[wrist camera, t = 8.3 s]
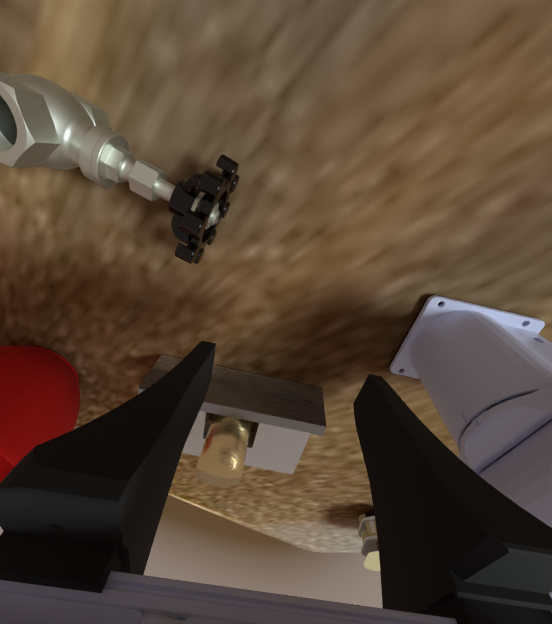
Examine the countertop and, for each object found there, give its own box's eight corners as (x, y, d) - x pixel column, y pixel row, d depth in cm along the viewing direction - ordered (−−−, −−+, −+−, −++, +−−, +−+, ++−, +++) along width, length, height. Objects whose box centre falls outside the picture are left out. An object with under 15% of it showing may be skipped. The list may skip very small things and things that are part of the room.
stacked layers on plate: (427, 505, 36) (447, 557, 32) (395, 533, 41) (408, 582, 36) (358, 489, 36) (368, 540, 31) (333, 519, 40) (338, 568, 35)
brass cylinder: (253, 397, 28) (241, 463, 22) (253, 422, 30) (242, 489, 24) (215, 393, 28) (192, 458, 22) (217, 419, 30) (197, 485, 24)
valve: (51, 165, 19) (211, 249, 21) (-59, 167, 13) (179, 283, 15) (61, 50, 15) (248, 163, 18) (-78, -15, 10) (224, 164, 12)
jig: (322, 387, 27) (326, 426, 23) (292, 457, 33) (292, 498, 29) (161, 354, 26) (137, 388, 22) (161, 431, 32) (142, 469, 28)
